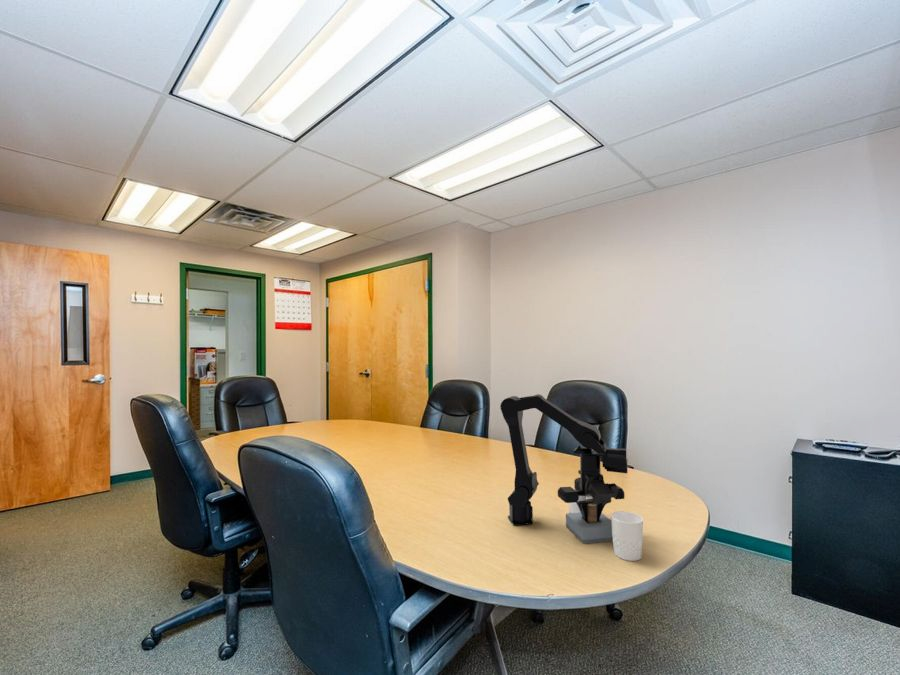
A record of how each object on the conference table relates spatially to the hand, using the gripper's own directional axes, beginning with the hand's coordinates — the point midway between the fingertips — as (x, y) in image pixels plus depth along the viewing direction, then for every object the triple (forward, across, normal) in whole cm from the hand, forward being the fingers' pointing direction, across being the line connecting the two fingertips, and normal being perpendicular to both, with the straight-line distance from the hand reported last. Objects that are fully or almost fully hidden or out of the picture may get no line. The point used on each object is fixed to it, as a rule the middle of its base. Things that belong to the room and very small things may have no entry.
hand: (591, 521), depth 121 cm
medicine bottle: (+4, +4, +12) cm, 13 cm away
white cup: (+4, +3, -13) cm, 14 cm away
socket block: (+3, 0, 0) cm, 3 cm away
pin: (+2, 0, 0) cm, 2 cm away
